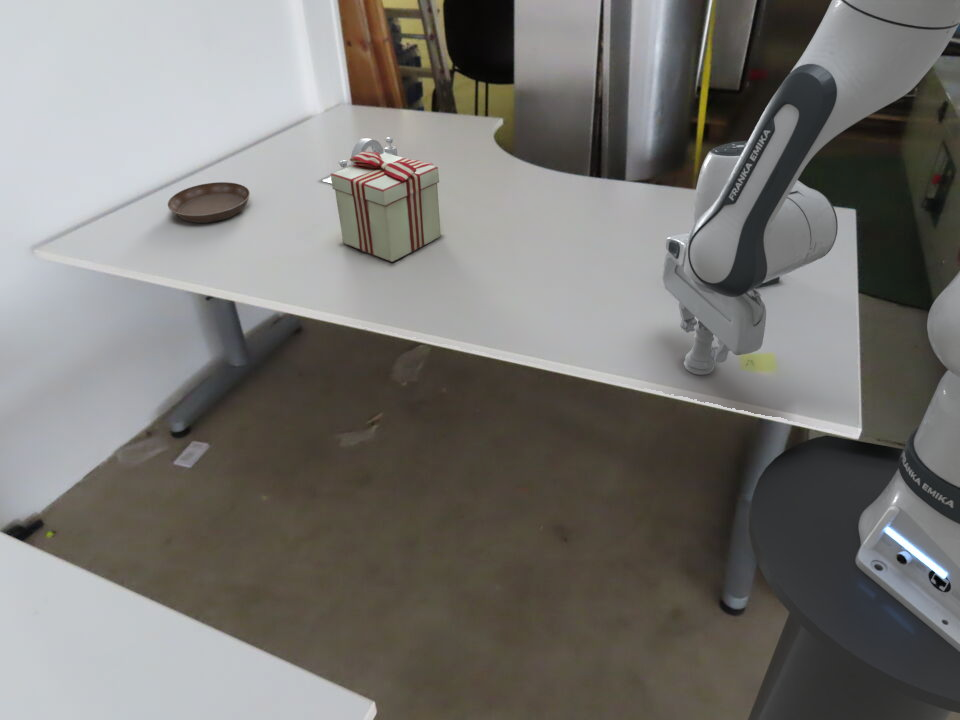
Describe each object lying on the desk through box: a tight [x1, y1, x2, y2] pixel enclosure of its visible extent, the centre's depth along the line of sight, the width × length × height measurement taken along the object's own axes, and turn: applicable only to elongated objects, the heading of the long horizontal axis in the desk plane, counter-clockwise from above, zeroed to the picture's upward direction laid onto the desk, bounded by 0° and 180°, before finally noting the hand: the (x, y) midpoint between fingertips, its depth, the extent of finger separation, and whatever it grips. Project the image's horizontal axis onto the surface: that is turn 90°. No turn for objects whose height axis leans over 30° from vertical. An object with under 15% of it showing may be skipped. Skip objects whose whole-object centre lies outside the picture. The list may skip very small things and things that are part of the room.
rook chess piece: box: [683, 320, 716, 376], centre depth 103 cm, size 4×4×8 cm
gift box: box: [330, 151, 442, 263], centre depth 139 cm, size 17×18×17 cm
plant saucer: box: [167, 181, 251, 224], centre depth 157 cm, size 18×18×3 cm
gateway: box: [322, 136, 398, 185], centre depth 171 cm, size 20×2×8 cm, turn 147°
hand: (702, 344), depth 103 cm, fingers open, 7 cm apart
